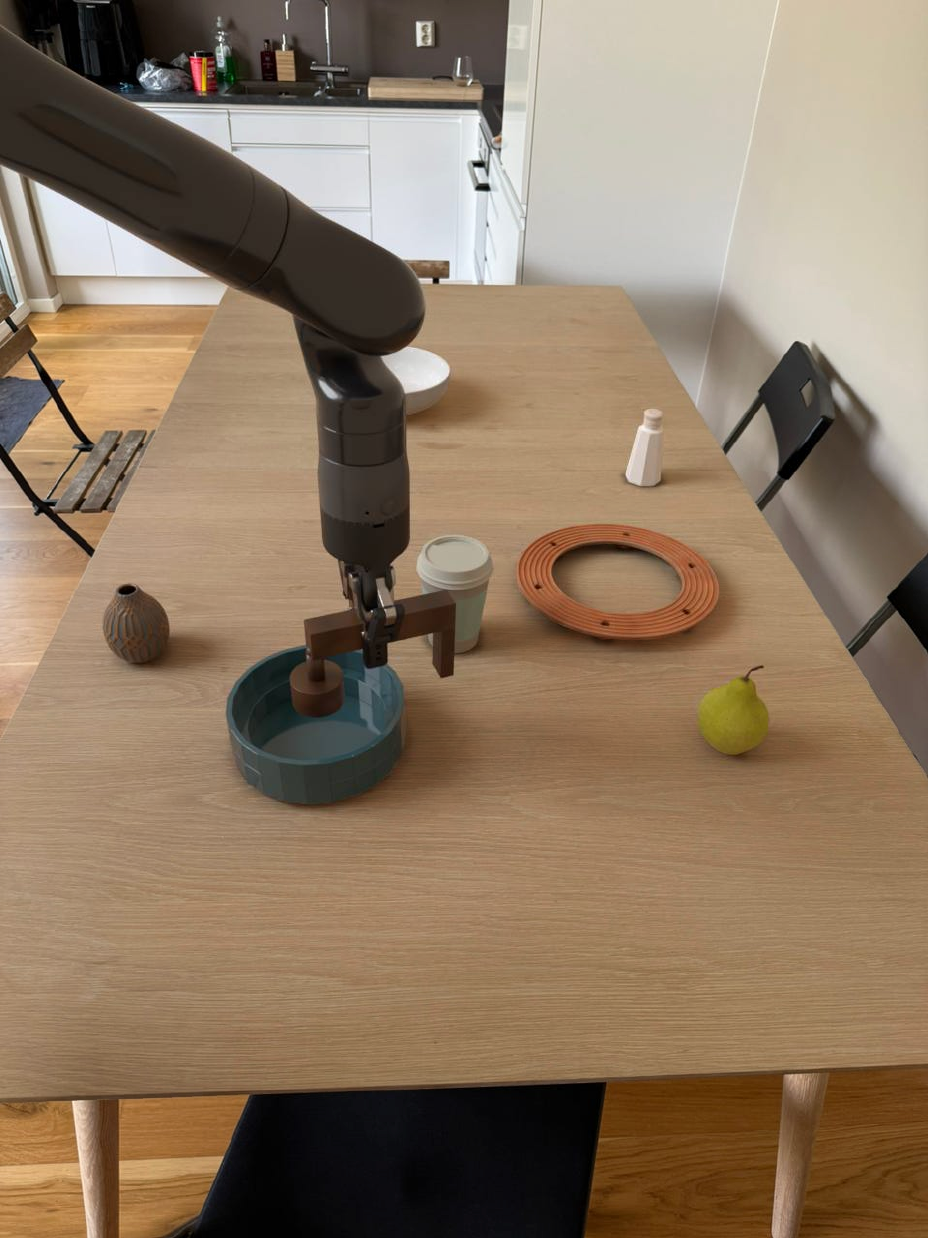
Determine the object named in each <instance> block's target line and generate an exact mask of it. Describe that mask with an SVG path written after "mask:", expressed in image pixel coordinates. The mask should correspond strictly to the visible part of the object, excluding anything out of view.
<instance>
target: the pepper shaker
mask: <svg viewBox="0 0 928 1238" xmlns="http://www.w3.org/2000/svg"><path fill="white" fill-rule="evenodd" d="M663 418H664V412H663V411H662V410H659V409H657V408H649V409H645V411H644V412H643V422H642V424H641V425H639V426H638V428H637V431H636V435H635V437H634V438H635V439H634V442H633V446H632V449H631V453H630V457H629V460H628V464H627V468H626V470H625V477H626V479H627V481H628V482H629V483H631V484H633V485H635V486H638V487H641V488H642V487H654V486H656V485H657V484H658V483H659V482H660V483H661V480H662V469H663V468H662V466H663V453H664V452H663V451H664V437H665V430H664V428H663V426H662V423H663Z"/></svg>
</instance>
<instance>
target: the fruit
mask: <svg viewBox="0 0 928 1238" xmlns="http://www.w3.org/2000/svg"><path fill="white" fill-rule="evenodd" d="M764 668H765V667H764V665H758V666H754V667H753V668H752V667H751V669H750V670H749V671H748V672H747V674H746V675H740V676H737V677H735V678H733V679H732V680H731V681H729V683H727V684H724V685H720V686H718V687H715V688H713V689H711V690H710V691H708V692H707V693H706V694H705V695H704V696H703V698H702V700H701V703H700V705H699V707H698V711H697V724H698V728H699V731H700V733H701V735H702V737H703V739H705V741H706V742H707V743H708V744H710V746H711V747H712V748H713V749H715V750H717V751H719V752H720V753H723V754H725V755H730V756H731V755H738V754H742V753H745V752H747V751H750V750H752V749H754V748H756V747H757V746H758V745H759V744H761V742H762V741H763V740H764V738H765V737H766V736H767V734H768V731H769V726H770V715H769V710H768V707H767V706H766V704H765V702H764V701H763V700H762V698H761V697H760V696H759V695H757V687H756V683H755V682H754V680H753V679H752V678H750V677H749V676H750V675H751V673H752V672H754V671H758V670H760V669H764Z"/></svg>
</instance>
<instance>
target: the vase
mask: <svg viewBox="0 0 928 1238" xmlns="http://www.w3.org/2000/svg"><path fill="white" fill-rule="evenodd" d="M170 628H171V627H170V621H169V617H168V615H167V612H166V610H165V608H164V607H163V605H162V604H161V602H160V601H158V600H157V598H155V597H154V596H152V595H151V594H149V593H147V592H145V591H144V590H142V589H141V588H140V587H139V586H138V585H137V584H135V583H124V584H121V585H119V586H117V588H116V589H115V591H114V596H113V597H112V599H111V600H110V602H109V603H108V605H107V606H106V608H105V610H104V613H103V617H102V632H103V636H104V639H105V642H106V644H107V646H108V648H109V649H110V650H111V652H112V653H113V654H114V655H116V656H117V657H118V658H119V659H122V660H123V661H126V662H129V663H133V664H143V663H147V662H151V661H153V660H155V659H156V658H157V657H158V656H159V655H161V654H162V653H163V652H164V650H165V649H166V647H167V645H168V642H169V639H170V632H171V629H170Z"/></svg>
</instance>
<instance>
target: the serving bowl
mask: <svg viewBox="0 0 928 1238" xmlns="http://www.w3.org/2000/svg"><path fill="white" fill-rule="evenodd" d="M381 357H382V359H383V361H384V363H385V364H386V366H387V367H388V368H389V369H390V370H391V371H392V372H393V373H394V375H395V376H396V377H397V378H398V379H399V381H400V382H401V384H402V386H403V388H404V392H405V398H406V416H410V415H414V414H418V413H420V412H423V411H425V410H428V409H429V408H431V407H433V406H434V405H435V404H437V403H438V402H439V401H440V400H441V399H442V398H443V396H444V395H445V393H446V391H447V389H448V386H449V384H450V379H451V373H452V369H451V365H450V364H449V363H448V362H447V361H446V360H445V359H444V358H443V357H441V356H440V355H438V354H436V353H434V352H432V351H428V350H425V349H421V348H418V347H412V346H406V347H405V348H404V349H402V350H400V351H398V352H396V353H394V354H390V355H386V356H381Z"/></svg>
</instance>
